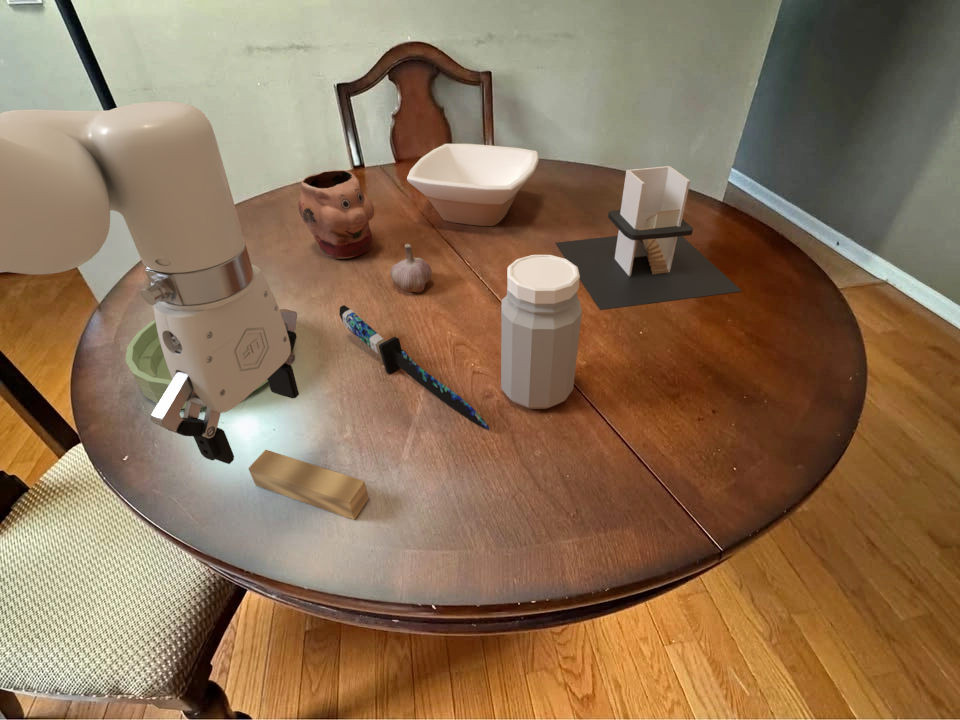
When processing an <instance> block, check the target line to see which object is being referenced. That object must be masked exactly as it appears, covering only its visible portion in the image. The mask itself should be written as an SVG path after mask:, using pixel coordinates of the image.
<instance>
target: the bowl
mask: <svg viewBox="0 0 960 720" xmlns="http://www.w3.org/2000/svg"><path fill="white" fill-rule="evenodd" d="M538 164H539V153H538V151H536V150H532V149H526V148H520V147H511V146H499V145H487V144H475V143H443V144H442V145H440V146H438V147H436V148H434V149H432V150H430V151H429V152H428V153H426V154H425V155H423V156H422V157H420V158H419V159H418V161H417V162H415V164H414V165H413V167H411V168H410V170H409V172H408V175H407V177H406V180H407V182H408V183H409V184H410V185H411V186H412V187H414V188H415V189H416V190H418V191H419V192H420V193H421V194H423V195H424V196H425V197H426V198H427V199H428V202H429V203H431V205H432V206H433V208H434V209H435V211H436V212H437V213H438V214H439V216H440V217H441V219H442V220H443V221H446V222H450V223H454V224H460V225H461V224H462V225H468V226H469V225H470V226H478V227H479V226H480V227H495V226H496V225H497V224H499V223H500V222H501V221H502V220H503V219H505V217H506V215H507V214H508V212H509V210H510V208H511V206H512V204H513V203H514V201H515V198H516V196H517V195H518V192H519V190H521V188H522V187H523V186H524V185H525V184H526V183H527V182H528V180H529V179H530V178H531V177H532V176H533V175H534V174H535V171H536V169H537V167H538Z"/></svg>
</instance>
